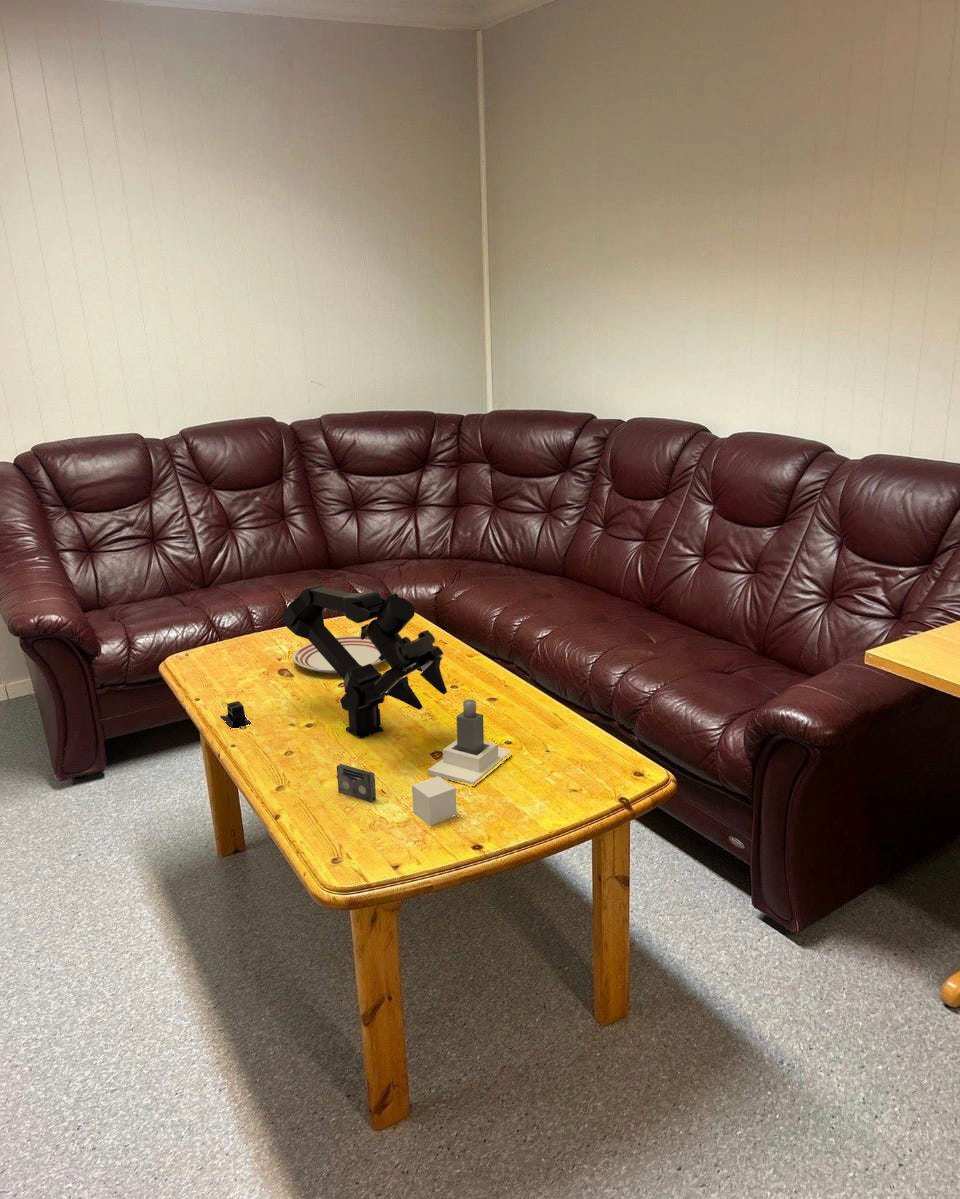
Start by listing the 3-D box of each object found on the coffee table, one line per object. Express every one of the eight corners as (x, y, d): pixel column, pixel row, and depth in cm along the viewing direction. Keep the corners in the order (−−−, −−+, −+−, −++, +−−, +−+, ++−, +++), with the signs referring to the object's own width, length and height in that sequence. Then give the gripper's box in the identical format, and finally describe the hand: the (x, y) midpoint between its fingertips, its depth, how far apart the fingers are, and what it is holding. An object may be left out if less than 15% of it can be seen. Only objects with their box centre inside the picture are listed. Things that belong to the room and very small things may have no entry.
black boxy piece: (214, 716, 223) (212, 699, 222) (244, 710, 227) (242, 692, 225) (230, 735, 213) (228, 717, 212) (260, 728, 217) (259, 710, 215)
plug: (457, 759, 195) (456, 702, 191) (466, 753, 198) (464, 697, 194) (475, 764, 193) (474, 707, 189) (484, 758, 196) (482, 701, 192)
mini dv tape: (376, 799, 183) (374, 772, 181) (371, 802, 182) (369, 775, 180) (343, 789, 187) (341, 762, 185) (338, 792, 186) (336, 765, 184)
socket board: (428, 774, 192) (427, 756, 191) (468, 744, 205) (468, 727, 204) (473, 787, 186) (472, 768, 185) (512, 755, 200) (512, 737, 198)
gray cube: (439, 803, 181) (438, 775, 179) (456, 816, 176) (455, 787, 175) (413, 813, 178) (411, 785, 176) (430, 826, 173) (429, 797, 171)
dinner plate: (275, 675, 247) (274, 664, 246) (320, 641, 272) (319, 631, 271) (371, 684, 239) (370, 672, 238) (408, 649, 264) (408, 638, 264)
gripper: (383, 635, 188) (429, 696, 185) (434, 610, 203) (478, 666, 200) (354, 665, 194) (399, 724, 192) (407, 638, 209) (449, 693, 207)
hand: (433, 700), depth 197 cm, fingers open, 9 cm apart
